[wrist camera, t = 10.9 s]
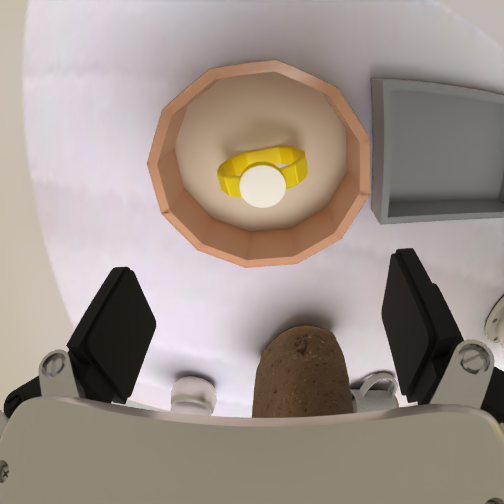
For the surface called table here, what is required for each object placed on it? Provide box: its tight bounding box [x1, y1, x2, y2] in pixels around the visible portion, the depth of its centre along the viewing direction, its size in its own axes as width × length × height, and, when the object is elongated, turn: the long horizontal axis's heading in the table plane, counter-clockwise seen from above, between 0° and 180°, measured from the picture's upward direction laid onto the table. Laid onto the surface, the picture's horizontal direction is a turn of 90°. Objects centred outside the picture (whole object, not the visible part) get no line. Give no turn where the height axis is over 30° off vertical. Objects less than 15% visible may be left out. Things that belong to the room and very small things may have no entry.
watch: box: [217, 145, 308, 208], centre depth 20 cm, size 6×3×6 cm, turn 102°
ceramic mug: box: [350, 373, 399, 413], centre depth 39 cm, size 11×8×8 cm
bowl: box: [147, 60, 370, 268], centre depth 21 cm, size 14×14×5 cm
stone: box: [252, 325, 354, 418], centre depth 28 cm, size 12×7×20 cm, turn 155°
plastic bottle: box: [170, 376, 217, 416], centre depth 35 cm, size 6×7×20 cm
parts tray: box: [371, 78, 504, 224], centre depth 20 cm, size 15×11×3 cm
